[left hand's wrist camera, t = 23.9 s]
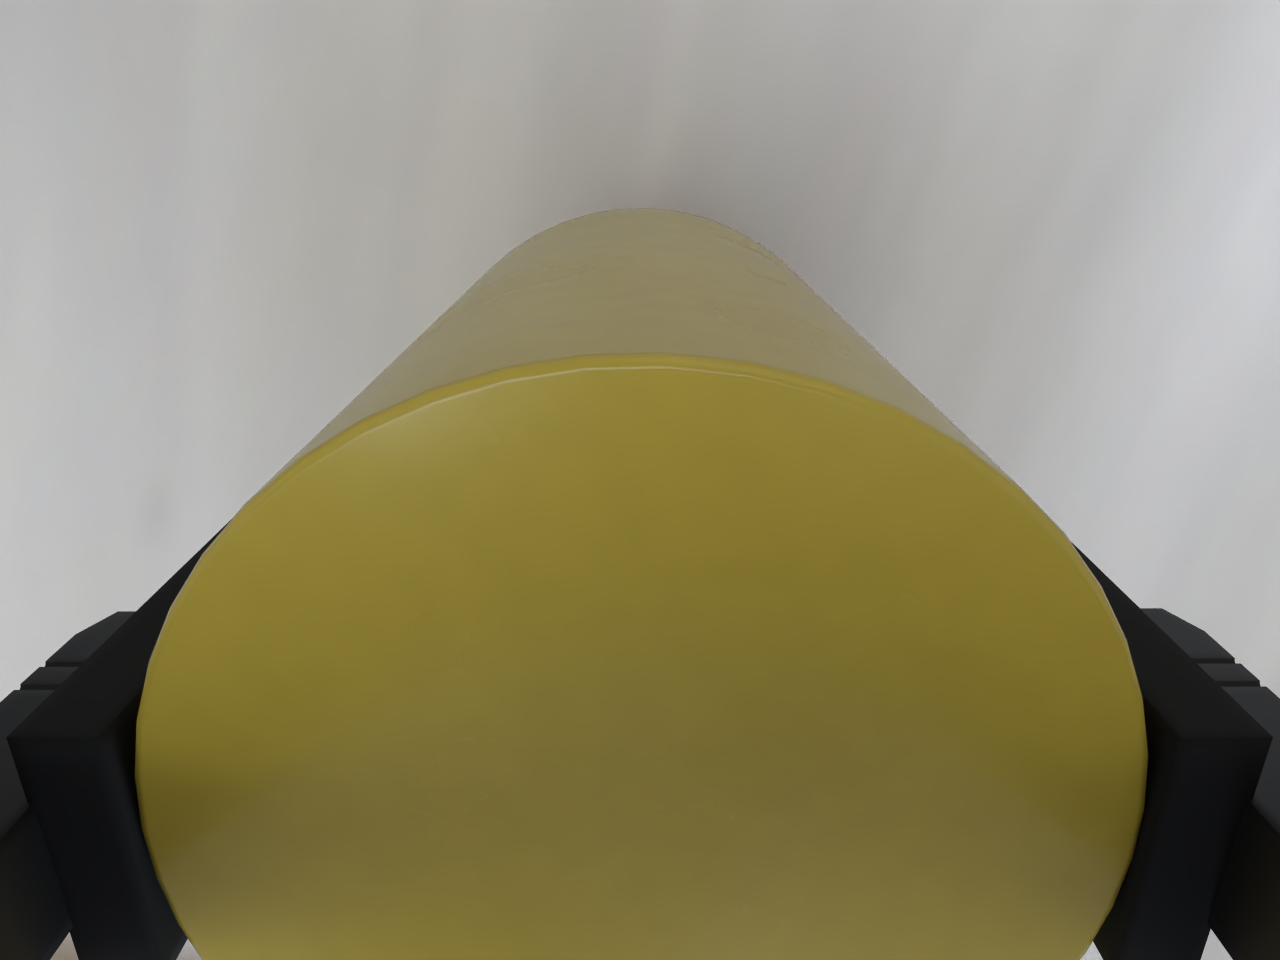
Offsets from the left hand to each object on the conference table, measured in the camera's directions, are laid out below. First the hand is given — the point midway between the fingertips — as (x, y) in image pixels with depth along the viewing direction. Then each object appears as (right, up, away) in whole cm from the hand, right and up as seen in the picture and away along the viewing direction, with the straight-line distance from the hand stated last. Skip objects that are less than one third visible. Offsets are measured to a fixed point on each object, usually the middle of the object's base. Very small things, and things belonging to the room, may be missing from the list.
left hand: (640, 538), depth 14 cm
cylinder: (0, +2, +5) cm, 5 cm away
